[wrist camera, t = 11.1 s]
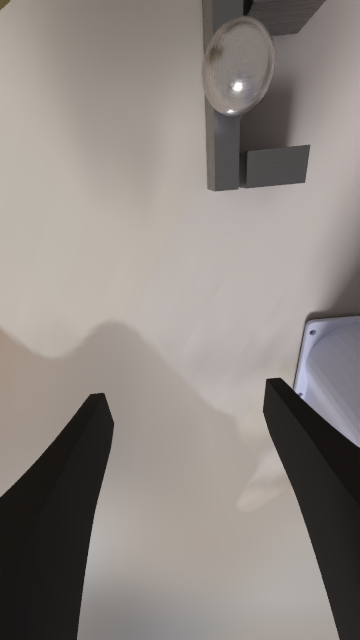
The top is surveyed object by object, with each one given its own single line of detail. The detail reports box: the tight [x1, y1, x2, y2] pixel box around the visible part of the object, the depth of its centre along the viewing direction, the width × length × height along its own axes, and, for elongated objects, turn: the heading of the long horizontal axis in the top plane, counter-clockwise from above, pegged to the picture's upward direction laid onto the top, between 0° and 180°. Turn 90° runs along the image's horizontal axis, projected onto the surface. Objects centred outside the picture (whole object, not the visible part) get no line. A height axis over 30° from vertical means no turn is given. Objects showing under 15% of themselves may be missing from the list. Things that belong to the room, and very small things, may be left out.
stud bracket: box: [202, 0, 326, 191], centre depth 11 cm, size 8×5×6 cm, turn 5°
